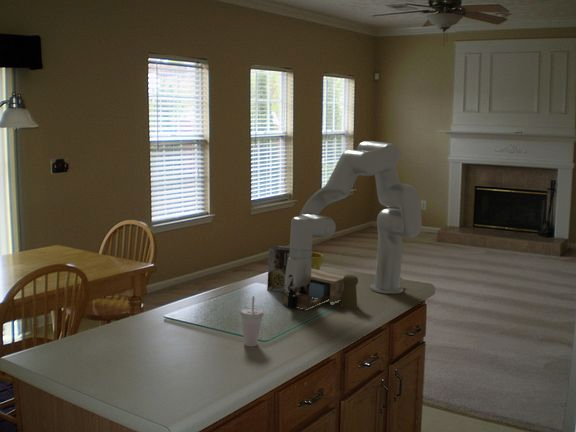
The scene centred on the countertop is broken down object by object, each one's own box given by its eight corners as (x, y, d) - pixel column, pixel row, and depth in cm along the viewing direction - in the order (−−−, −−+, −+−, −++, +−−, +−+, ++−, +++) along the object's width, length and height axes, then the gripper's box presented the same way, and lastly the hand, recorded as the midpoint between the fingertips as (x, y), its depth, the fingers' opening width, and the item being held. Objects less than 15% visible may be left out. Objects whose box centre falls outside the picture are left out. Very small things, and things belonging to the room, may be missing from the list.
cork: (357, 304, 231) (359, 274, 229) (357, 309, 225) (359, 278, 223) (339, 303, 231) (342, 272, 230) (339, 308, 225) (341, 276, 224)
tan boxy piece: (309, 290, 245) (311, 268, 244) (347, 299, 237) (349, 276, 235) (294, 296, 237) (295, 273, 235) (332, 305, 228) (334, 281, 227)
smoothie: (241, 348, 181) (244, 299, 179) (237, 340, 187) (239, 293, 185) (264, 347, 183) (266, 299, 181) (259, 339, 189) (261, 292, 187)
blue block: (317, 295, 240) (318, 279, 239) (331, 298, 237) (332, 282, 236) (308, 298, 235) (309, 282, 234) (322, 301, 232) (323, 285, 231)
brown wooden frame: (315, 293, 242) (316, 281, 242) (337, 298, 237) (338, 286, 237) (283, 304, 225) (283, 292, 224) (306, 310, 220) (307, 297, 219)
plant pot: (319, 282, 258) (320, 258, 257) (293, 279, 260) (294, 255, 259) (323, 276, 268) (325, 253, 267) (299, 273, 270) (300, 250, 269)
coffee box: (294, 289, 246) (297, 247, 244) (290, 293, 240) (293, 250, 238) (271, 286, 248) (273, 244, 246) (266, 290, 242) (268, 247, 240)
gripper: (304, 248, 230) (301, 298, 233) (276, 255, 216) (273, 308, 219) (323, 251, 226) (319, 302, 229) (295, 259, 212) (292, 313, 214)
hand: (297, 304), depth 224 cm, fingers open, 5 cm apart
